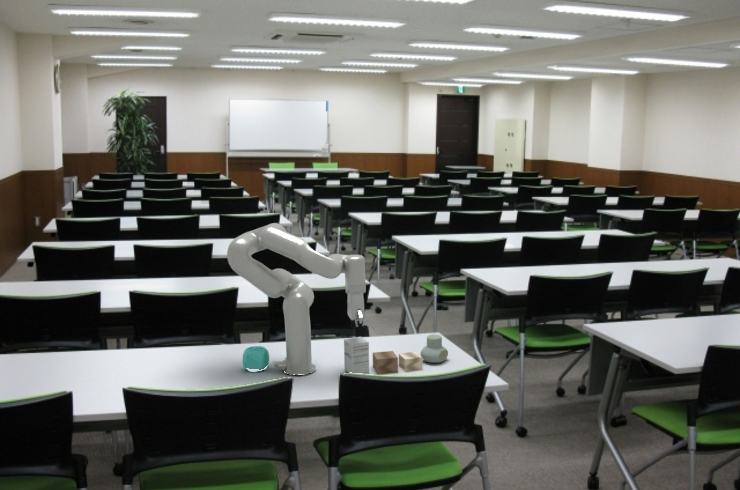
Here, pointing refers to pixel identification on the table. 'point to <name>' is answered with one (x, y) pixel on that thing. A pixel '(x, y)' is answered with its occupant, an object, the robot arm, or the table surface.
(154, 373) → the table surface
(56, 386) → the table surface
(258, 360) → the teal rounded cube
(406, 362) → the maple block
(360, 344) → the supplement box
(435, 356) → the air freshener
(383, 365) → the walnut block
